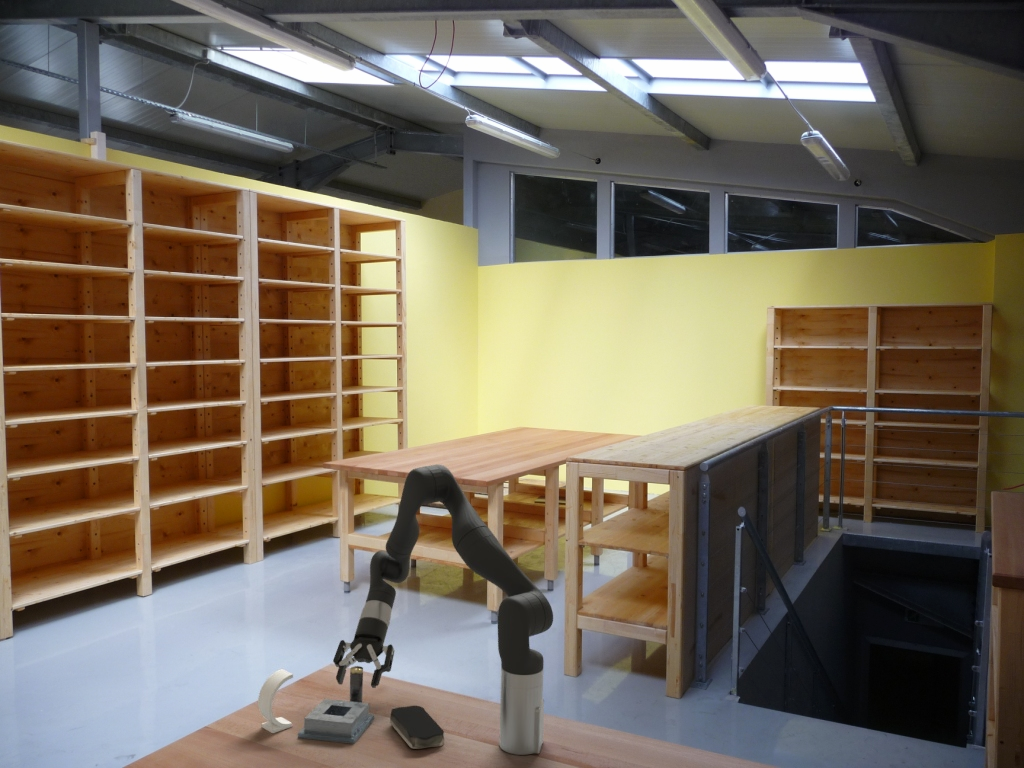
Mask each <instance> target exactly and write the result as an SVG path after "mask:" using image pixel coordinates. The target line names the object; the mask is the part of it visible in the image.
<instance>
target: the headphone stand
mask: <svg viewBox="0 0 1024 768" xmlns="http://www.w3.org/2000/svg"><path fill="white" fill-rule="evenodd" d="M293 678H294V673H291V672H290V671H287V670H285V669H284V668H281V669H279V670H278V669H277V670H276V671H274V672H273V673H272V674H271V675H269V677H268V678H266V680H265V681H264V682H263V684H262V686H261V689H259V693H258V694H259V695H258V697H257V699H258V701H257V707H258V710H259V713H260V715H261V716H262V717H263V718H264V719H265V720H266V721H265V722H262V723H261V728H262V729H264V730H266V731H267V732H269V733H271V734H275V733H278V732H282V731H283V730H287V729H290V728H292V727H293V722H291V721H289V720H288V719H286V718H284V717H282V716H280V717H275V714H274V711H273V704H274V700H275V696H276V694H277V692H278V690H279V689H280V688H281V687H282V686H283V684H285V683H286V682H288V681H289V680H292V679H293Z"/></svg>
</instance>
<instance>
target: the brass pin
mask: <svg viewBox="0 0 1024 768" xmlns="http://www.w3.org/2000/svg"><path fill="white" fill-rule="evenodd" d="M349 670H350V673H349V674H350V675H349V678H350V679H349V701H352V702H361V703H363V692H364V691H363V686H364V684H363V683H364V667H362V666H360V665H355V666H351V667H350V668H349Z"/></svg>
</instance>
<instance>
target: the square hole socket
mask: <svg viewBox="0 0 1024 768" xmlns="http://www.w3.org/2000/svg"><path fill="white" fill-rule="evenodd" d="M375 715H376V714H371V713H370V702H369V703H368V702H362V703H361V702H352V701H350V700H342V699H341V700H340V699H332V698H331V699H330V698H324V699H323V700H322V701H321V702H319V703H318V704H317V705H316V707H314V708H313V710H311V711H310V712H309V713H308V714H307V715H306V716H305V717H304V722H303V724H304V726H303V728H302V729H300V731H298V733H297V738H299V739H307V740H308V739H309V740H316V741H317V740H318V741H325V742H332V743H333V742H334V743H343V744H350V745H351V744H352V745H353V744H355V743H356V742H357V741H358V740H359V738H360V737H361V736H363V733H364V732H365V731H366V730H367V729H368V727H370V725H371V724H372V723H373V721H374V720H375V718H376V717H375Z"/></svg>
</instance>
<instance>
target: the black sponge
mask: <svg viewBox="0 0 1024 768" xmlns="http://www.w3.org/2000/svg"><path fill="white" fill-rule="evenodd" d="M389 723H390V724H391V726H392V727H393V728H394V730H395V731H396V732H397V733H398V734H399V735H400V737H401V738H402V740H403V741H404V742H405V743H406V744H407V745H408V746H409V748H410V749H414V750H415V749H417V750H418V749H426V748H434V747H435V748H436V747H437V748H438V747H441V746H443V745H444V744H445V736H444V734H445V731H444V730H443V729H442V727H441V726H440V725H439V724H438V723H437V721H435V720H434V719H433V718H432V716H431V715H430V714H429V713H428V712H427V711H426V709H425V708H424V707H422V706H420V705H409V706H399V707H395V708H392V709H391V711H390V716H389Z"/></svg>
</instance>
